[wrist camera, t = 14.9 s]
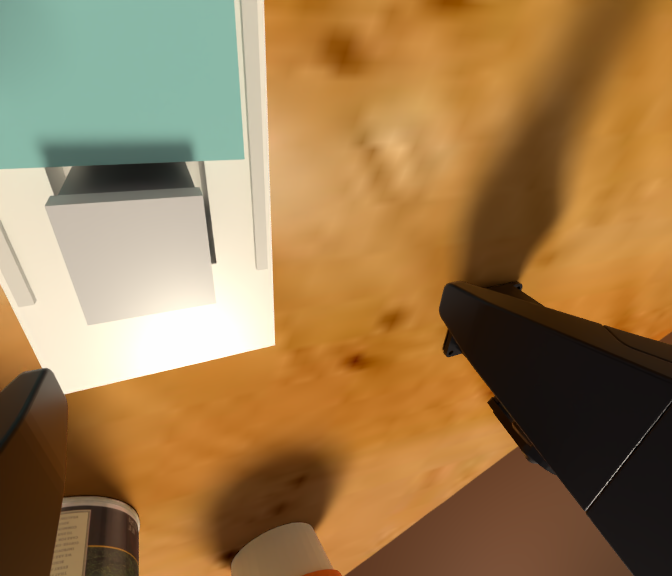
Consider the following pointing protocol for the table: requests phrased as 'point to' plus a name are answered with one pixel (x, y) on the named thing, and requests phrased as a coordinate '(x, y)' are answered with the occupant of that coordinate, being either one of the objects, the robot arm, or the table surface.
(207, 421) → the table surface
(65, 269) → the socket strip
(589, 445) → the robot arm
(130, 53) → the block
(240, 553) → the reusable coffee cup
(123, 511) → the coffee can
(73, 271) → the white rectangular block
